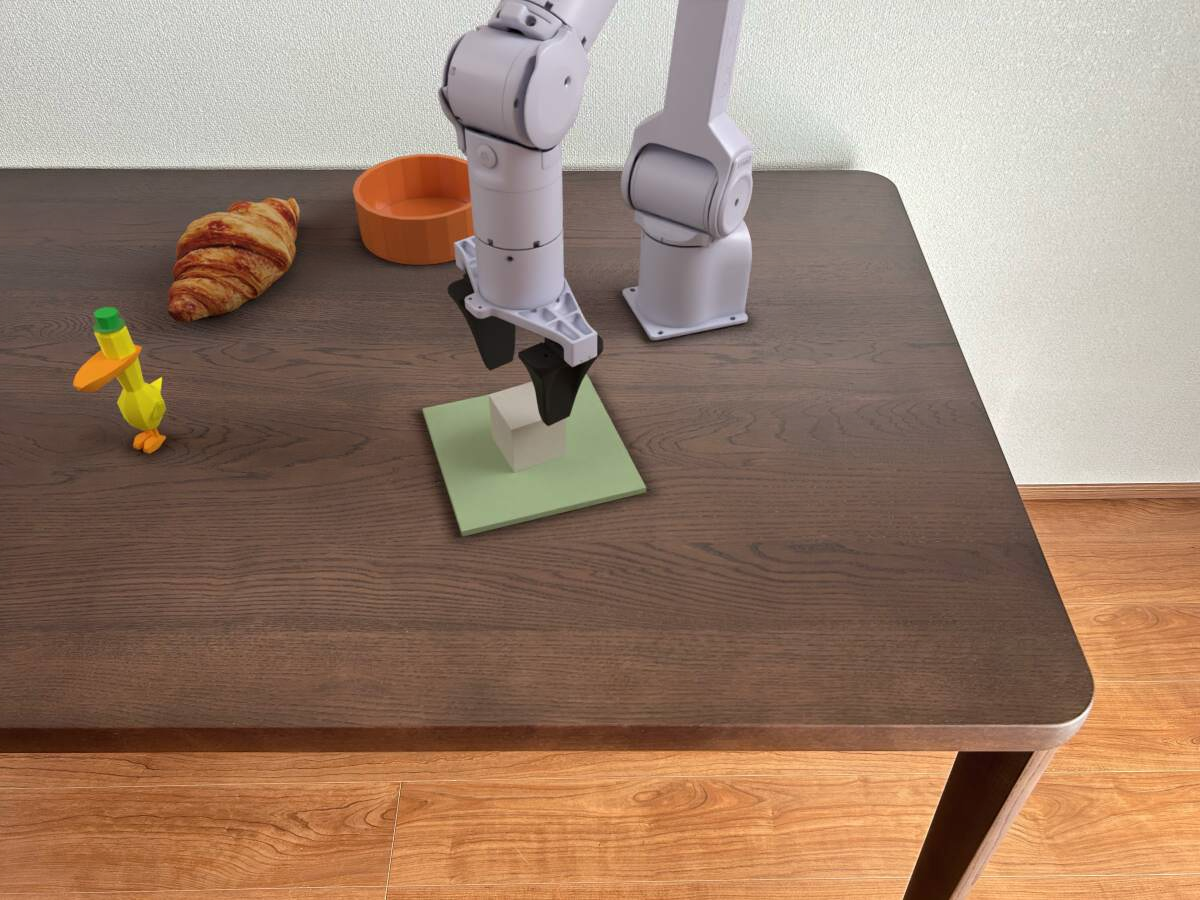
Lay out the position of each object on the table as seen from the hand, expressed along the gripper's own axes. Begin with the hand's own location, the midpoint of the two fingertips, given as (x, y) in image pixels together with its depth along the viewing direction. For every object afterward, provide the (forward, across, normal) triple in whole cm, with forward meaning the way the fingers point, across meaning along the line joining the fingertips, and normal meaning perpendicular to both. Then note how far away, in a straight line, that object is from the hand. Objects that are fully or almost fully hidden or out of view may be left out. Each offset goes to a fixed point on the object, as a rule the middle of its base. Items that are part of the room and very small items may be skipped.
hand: (526, 390), depth 71 cm
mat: (+6, 0, 0) cm, 6 cm away
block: (+6, 0, 0) cm, 6 cm away
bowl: (+6, -34, +10) cm, 36 cm away
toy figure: (+6, -18, -24) cm, 30 cm away
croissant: (+6, -36, -8) cm, 38 cm away
